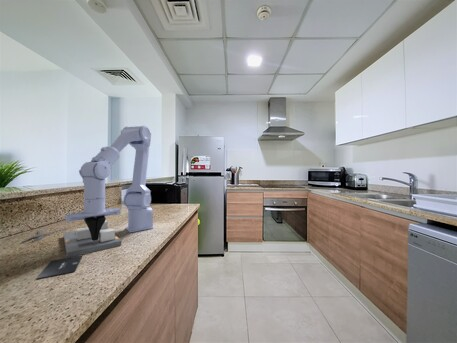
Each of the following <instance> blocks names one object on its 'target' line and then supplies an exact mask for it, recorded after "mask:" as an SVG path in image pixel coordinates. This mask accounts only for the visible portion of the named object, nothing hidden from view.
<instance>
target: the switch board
mask: <svg viewBox="0 0 457 343" xmlns="http://www.w3.org/2000/svg"><path fill="white" fill-rule="evenodd" d="M108 229H110V227H108ZM63 241H64V242H63V243H64V247H65V254H66V258H70V257H76V256H82V255H85V254H89V253H90V254H91V253H93V252H98V251H99V252H100V251H102V250H107V249H111V248H115V247H120V246H122V240H121V239H120V238H119V237H118V236H117V235H116V234H115V239H114V240H109V241H104V242H100V240H99V236H98V240H95V241H93V240H92V238H87V239H81V240H77V239H76V230H75V231H69V232H63Z"/></svg>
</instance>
